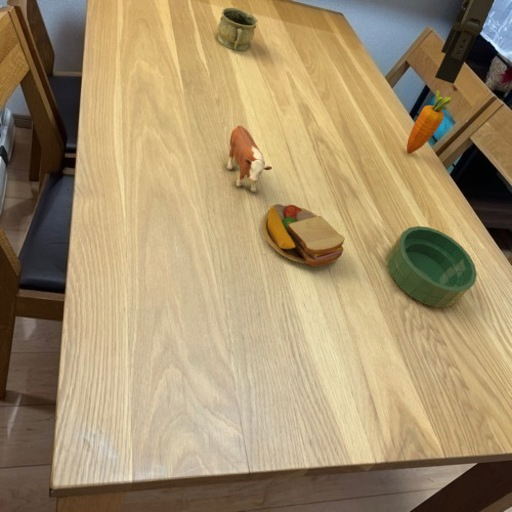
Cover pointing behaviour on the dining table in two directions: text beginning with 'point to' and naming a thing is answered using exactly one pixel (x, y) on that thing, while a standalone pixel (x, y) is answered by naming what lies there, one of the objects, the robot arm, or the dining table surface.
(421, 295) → the bowl
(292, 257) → the toy sandwich meal
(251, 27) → the vessel
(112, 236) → the dining table surface
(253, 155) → the bull figurine
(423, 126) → the carrot
